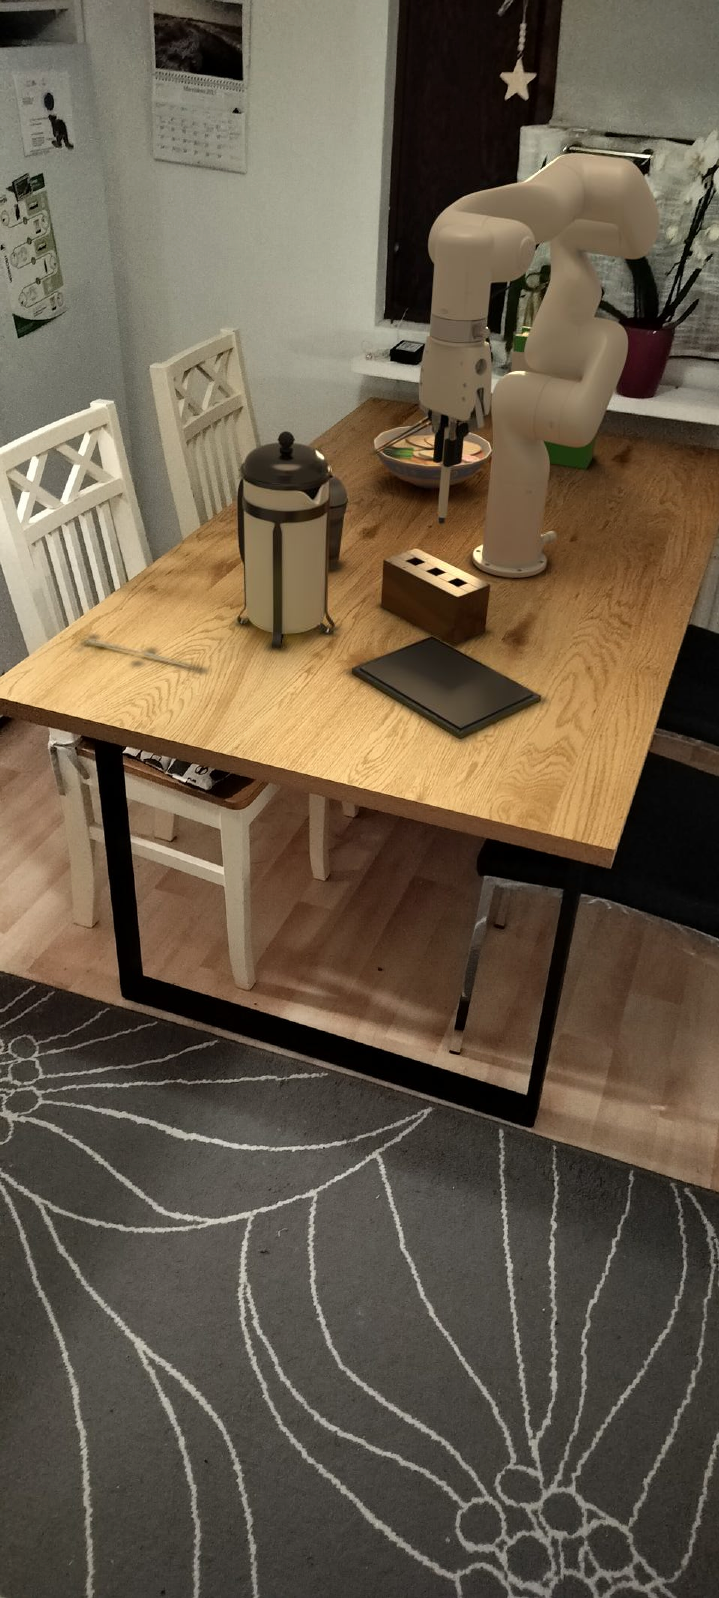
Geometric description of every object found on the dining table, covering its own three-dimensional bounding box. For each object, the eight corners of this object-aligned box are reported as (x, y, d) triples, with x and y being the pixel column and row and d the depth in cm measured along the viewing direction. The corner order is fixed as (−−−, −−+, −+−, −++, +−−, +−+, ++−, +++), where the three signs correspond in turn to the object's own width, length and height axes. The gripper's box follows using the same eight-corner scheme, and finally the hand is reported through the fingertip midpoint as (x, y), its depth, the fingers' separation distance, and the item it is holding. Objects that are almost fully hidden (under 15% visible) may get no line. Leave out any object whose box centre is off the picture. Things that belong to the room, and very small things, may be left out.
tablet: (351, 672, 170) (351, 666, 170) (431, 640, 179) (431, 634, 179) (460, 739, 157) (460, 732, 157) (540, 700, 166) (541, 694, 166)
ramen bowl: (451, 515, 219) (455, 472, 214) (346, 487, 228) (347, 445, 223) (510, 476, 236) (515, 435, 231) (410, 451, 245) (413, 411, 241)
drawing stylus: (440, 520, 175) (448, 425, 167) (447, 522, 174) (456, 428, 166) (435, 522, 174) (443, 427, 166) (442, 525, 174) (450, 429, 166)
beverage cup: (341, 577, 196) (344, 458, 184) (298, 571, 197) (299, 453, 185) (350, 559, 202) (354, 443, 190) (308, 554, 203) (310, 438, 191)
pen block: (412, 594, 192) (416, 548, 187) (485, 632, 182) (490, 584, 177) (380, 606, 188) (383, 559, 183) (453, 645, 178) (457, 597, 174)
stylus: (194, 670, 167) (77, 642, 172) (194, 676, 168) (77, 648, 173) (207, 657, 170) (92, 630, 176) (207, 663, 171) (92, 636, 176)
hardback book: (501, 455, 245) (514, 335, 231) (510, 444, 251) (523, 326, 237) (586, 468, 241) (605, 346, 227) (592, 456, 247) (611, 337, 233)
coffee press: (346, 608, 187) (353, 418, 169) (321, 656, 174) (325, 455, 156) (241, 594, 190) (236, 405, 172) (208, 640, 177) (199, 441, 159)
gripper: (520, 337, 156) (505, 473, 167) (437, 311, 165) (428, 442, 176) (480, 346, 152) (467, 485, 163) (398, 319, 161) (390, 452, 172)
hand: (447, 461), depth 169 cm, fingers closed on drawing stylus, 1 cm apart
